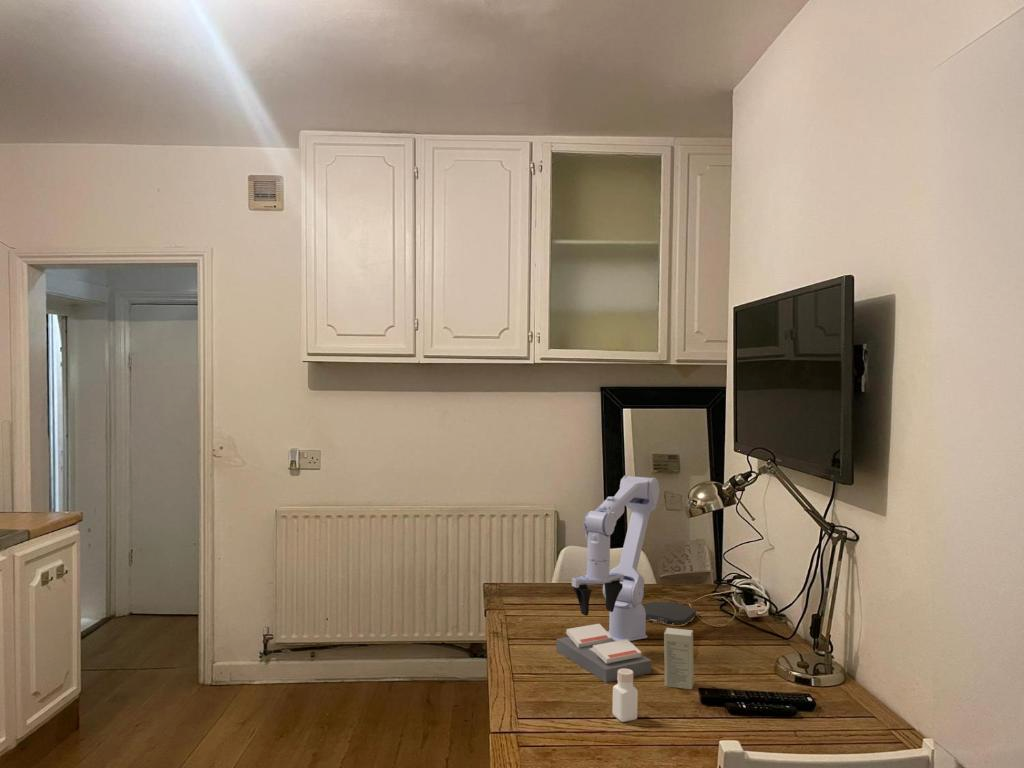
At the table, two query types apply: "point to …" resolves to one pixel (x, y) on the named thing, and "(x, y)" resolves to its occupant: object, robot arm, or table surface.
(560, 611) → the table surface
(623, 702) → the white pill bottle
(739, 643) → the table surface
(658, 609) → the media streaming box
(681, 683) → the skincare box
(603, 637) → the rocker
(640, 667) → the rocker switch panel
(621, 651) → the rocker
